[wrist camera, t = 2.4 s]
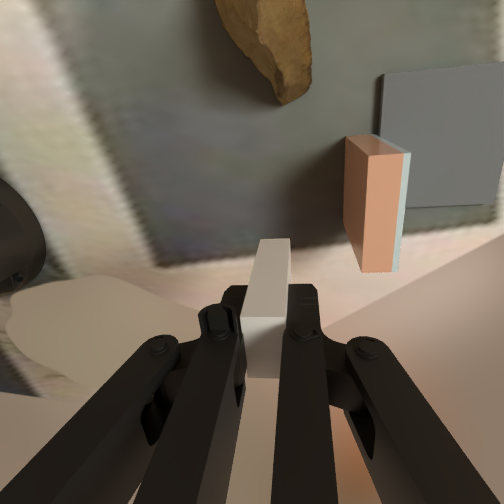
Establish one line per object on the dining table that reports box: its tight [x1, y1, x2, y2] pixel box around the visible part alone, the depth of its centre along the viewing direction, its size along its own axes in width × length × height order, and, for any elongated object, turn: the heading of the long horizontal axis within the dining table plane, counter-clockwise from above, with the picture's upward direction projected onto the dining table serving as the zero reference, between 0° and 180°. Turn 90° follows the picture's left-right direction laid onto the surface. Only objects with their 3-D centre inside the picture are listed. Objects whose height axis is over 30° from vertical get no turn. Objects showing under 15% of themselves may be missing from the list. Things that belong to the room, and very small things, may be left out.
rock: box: [214, 0, 312, 105], centre depth 23 cm, size 11×9×10 cm
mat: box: [378, 62, 504, 208], centre depth 27 cm, size 10×11×1 cm
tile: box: [343, 134, 411, 273], centre depth 26 cm, size 2×8×10 cm, turn 6°
